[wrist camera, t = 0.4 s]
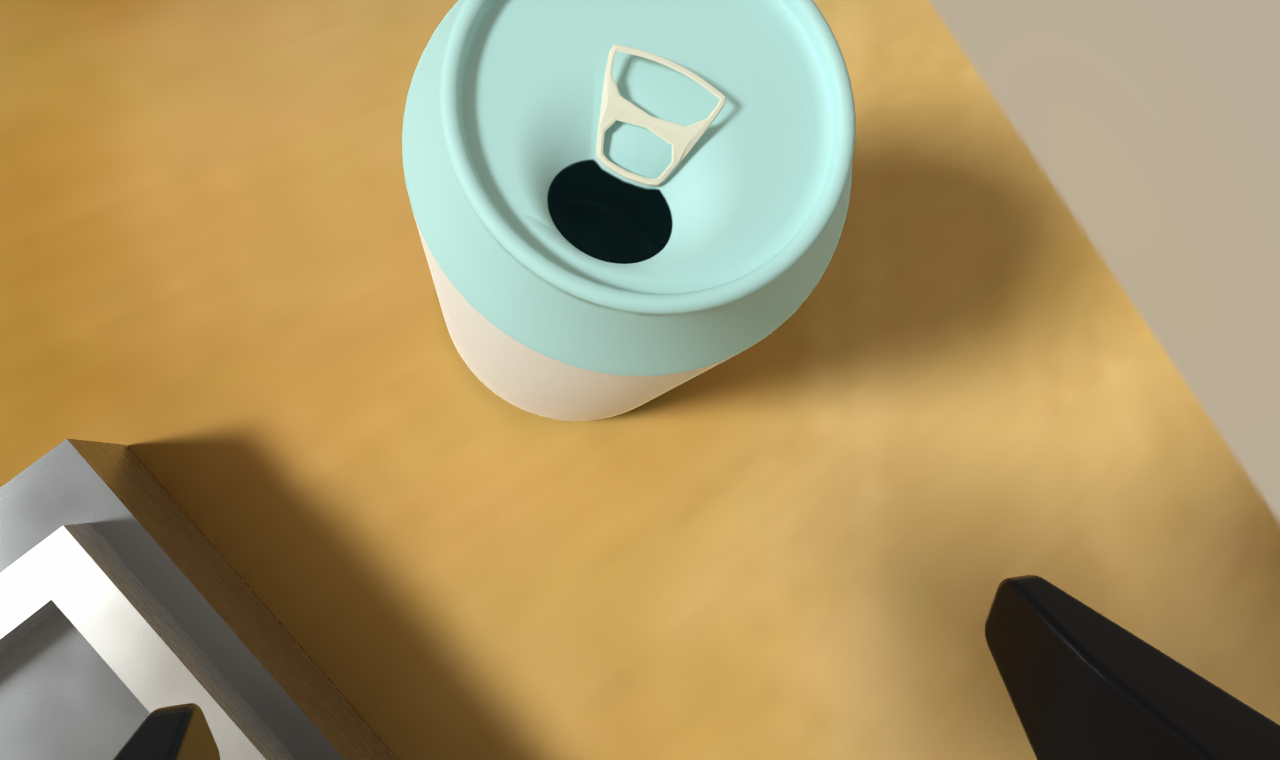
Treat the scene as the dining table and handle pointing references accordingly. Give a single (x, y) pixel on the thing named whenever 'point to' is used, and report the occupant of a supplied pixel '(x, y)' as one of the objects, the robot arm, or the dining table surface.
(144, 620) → the grey rectangular tray
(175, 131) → the dining table surface
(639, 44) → the can
